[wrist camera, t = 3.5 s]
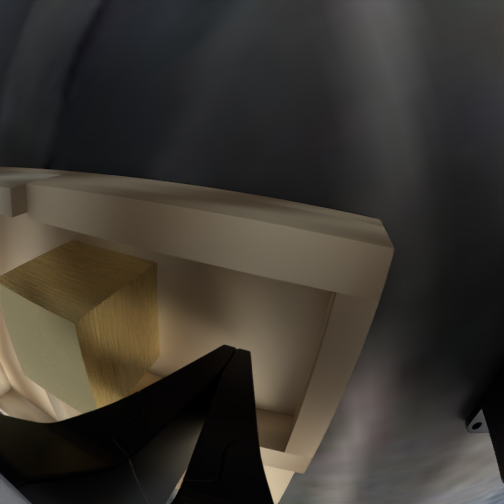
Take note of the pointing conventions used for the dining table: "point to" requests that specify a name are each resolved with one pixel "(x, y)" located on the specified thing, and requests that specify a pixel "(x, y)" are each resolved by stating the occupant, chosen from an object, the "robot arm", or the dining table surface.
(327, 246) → the oak slot board
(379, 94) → the dining table surface
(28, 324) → the brass block
